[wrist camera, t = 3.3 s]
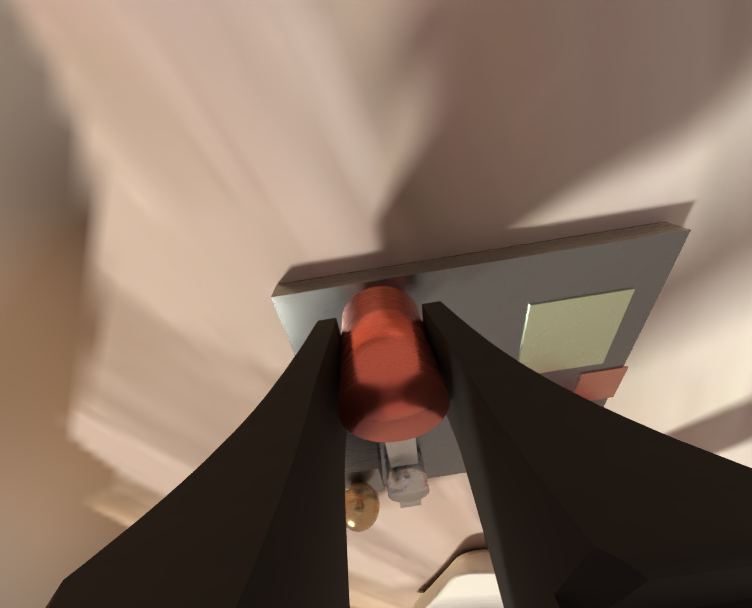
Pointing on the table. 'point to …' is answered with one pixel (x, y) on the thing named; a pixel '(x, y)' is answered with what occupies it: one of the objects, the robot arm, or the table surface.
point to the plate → (507, 323)
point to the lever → (390, 384)
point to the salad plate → (464, 584)
